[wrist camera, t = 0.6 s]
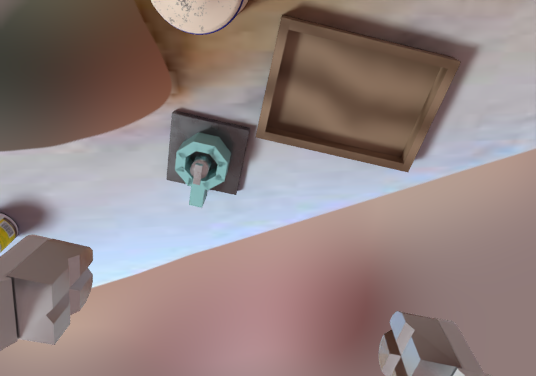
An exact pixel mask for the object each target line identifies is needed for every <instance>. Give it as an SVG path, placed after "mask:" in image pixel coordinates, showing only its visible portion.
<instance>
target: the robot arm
mask: <svg viewBox="0 0 536 376" xmlns="http://www.w3.org/2000/svg"><path fill="white" fill-rule="evenodd" d="M92 261H93V250H92V249H91V248H90V247H87V246H82V245H78V244H74V243H69V242H65V241H61V240H56V239H50V238H46V237H42V236H37V235H28V236H26V237H25V238H23V239H22V240H21V241H20V242H18V243H17V244H16V245H15V246H13V247H12V248H11V249H10V250H8V251H7V252H6V253H4V254H3V255H2V256H1V257H0V351H1V350H3V349H4V348H6V347H8V346H9V345H11V344H13V343H15V342H16V341H17V340H18V339H22V340H28V341H34V342H40V343H46V344H52V345H55V343H56V342H57V341H58V339H59V338H60V337H61V335H62V334H63V333H64V331H65V330H66V329H67V327H68V326H69V325H70V315H72V314H74V313H76V312H78V311H80V309H81V308H82V307H83V305H84V304H85V303H86V301H87V298H88V296H89V293H90V291H91V287H92V282H93V274H92V273H91V272H90V270H89V269H88V266H89V265H90V264H91V263H92ZM390 324H391V327H392V330H390V331H388V332H387V333H385V334H384V335H383V338H382V340H381V342H380V348H379V363H380V366H381V371H382V372H383V373H384V374H385V375H386V376H491V375H489V374H485V373H484V372H483V370H482V368H481V367H480V365H479V363H478V361H477V360H476V358H475V356H474V354H473V352H472V351H471V349H470V347H469V345H468V343H467V342H466V340H465V338H464V336H463V335H462V333H461V331H460V329H459V328H458V326H457V325H456V324H455V323H454V322H453V321H449V320H443V319H438V318H429V317H424V316H419V315H415V314H410V313H405V312H400V311H397V312H396V313H395V314H393V316H392V318H391V320H390Z"/></svg>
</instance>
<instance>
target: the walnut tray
mask: <svg viewBox="0 0 536 376" xmlns="http://www.w3.org/2000/svg"><path fill="white" fill-rule="evenodd" d="M460 63H461V62H460V61H459V60H457V59H455V58H453V57H450V56H446V55H442V54H438V53H434V52H430V51H426V50H422V49H418V48H414V47H410V46H406V45H402V44H398V43H394V42H390V41H385V40H381V39H377V38H373V37H369V36H365V35H361V34H357V33H353V32H349V31H345V30H341V29H337V28H333V27H329V26H325V25H321V24H317V23H313V22H309V21H305V20H301V19H297V18H293V17H289V16H285V15H282V17H281V22H280V26H279V31H278V36H277V40H276V45H275V50H274V54H273V59H272V63H271V68H270V73H269V77H268V82H267V87H266V91H265V96H264V100H263V105H262V110H261V114H260V119H259V124H258V128H257V133H256V137H257V138H261V139H265V140H270V141H274V142H278V143H283V144H287V145H291V146H296V147H300V148H304V149H309V150H313V151H318V152H322V153H326V154H331V155H335V156H339V157H344V158H348V159H352V160H357V161H361V162H366V163H370V164H374V165H379V166H383V167H387V168H392V169H396V170H400V171H405V172H408V171H409V169H410V167H411V165H412V163H413V161H414V159H415V157H416V155H417V153H418V151H419V148H420V146H421V144H422V142H423V140H424V138H425V136H426V134H427V132H428V130H429V128H430V126H431V123H432V121H433V119H434V117H435V115H436V113H437V111H438V109H439V107H440V105H441V103H442V101H443V98H444V96H445V94H446V92H447V90H448V88H449V86H450V84H451V82H452V80H453V78H454V76H455V73H456V71H457V69H458V67H459V65H460Z"/></svg>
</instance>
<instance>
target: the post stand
mask: <svg viewBox="0 0 536 376" xmlns="http://www.w3.org/2000/svg"><path fill="white" fill-rule="evenodd" d="M249 130H250V128H247V127H243V126H239V125H234V124H230V123H226V122H221V121H217V120H213V119H208V118H204V117H200V116H195V115H191V114H187V113H182V112H178V111H174V112H173V113H172V121H171V133H170V145H169V157H168V169H167V180H170V181H175V182H179V183H184V184H186V183H185V182H184V180H183V179H182V178H181V177H180V176H179V174H178V173H177V172H176V171H175V164H176V153H177V150H178V149H179V147H180V146H181V144H182V143H183V142H184V141H186V140H187V139H189V138H190V137H192V136H194V135H195V134H197V133H198V132H200V133H204V134H209V135H213V136H217V137H220V139H221V140H222V141H223V143H224V144H225V145H226V147H227V148H228V149H229V151H230V152H231V156H230V162H229V167H228V172H227V175H226V178H225V181H224V182H222V183H220V184H218V185H216V186H215V187H213V188H211V190H216V191H220V192H225V193H229V194H234V195H236V193H237V189H238V184H239V179H240V174H241V169H242V164H243V159H244V155H245V150H246V145H247V140H248V135H249ZM190 159H191V160H192V161H193V164H192V166H191V168H190V173H191V174H192V176H193V177H194V178H193V184H196V185H200V184H201V179H202V178H205V177H206V175H207V173H208V171H211V170H213V169H214V168H216V167H217V165H218V164H217V163H216V162H215V160H214V159H213V158H212V157H211V155H210V154H207V153H203V152H198V151H195V152H194V153H192V154H191V157H190Z"/></svg>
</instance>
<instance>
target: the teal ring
mask: <svg viewBox="0 0 536 376" xmlns="http://www.w3.org/2000/svg"><path fill="white" fill-rule="evenodd" d="M195 151H198V152H203V153H207V154H210V155H211V157H212V158H213V159H214V160H215V162H216V163H217V164H218V165H217V167H216V168H214V169H213V170H211V171H208V173H207V175H206V177H205V178H202V179H201V184H200V185H196V184H193V178H194V177H193V176H192V174H191V173H190V168H191V166H192V164H193V161H192V160H191V159H190V157H191V154H192V153H194V152H195ZM230 156H231V152H230V151H229V149H228V148H227V147H226V145H225V144H224V143H223V141H222V140H221V139H220V137H217V136H213V135H209V134H204V133H200V132H198V133H197V134H195V135H194V136H192V137H190V138H189V139H187V140H186V141H184V142H183V143H182V144H181V146H180V147H179V149H178V150H177V153H176V164H175V171H176V172H177V173H178V174H179V176H180V177H181V178H182V179H183V180H184V182H185V183H186V184H187V185H188V186H191V193H190V201H189V205H192V206H197V207H202V206H203V204H204V201H205V199H206V196H207V190H209V189H211V188H213V187H215V186H216V185H218V184H220V183H222V182H224V181H225V178H226V175H227V172H228V167H229V162H230Z"/></svg>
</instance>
